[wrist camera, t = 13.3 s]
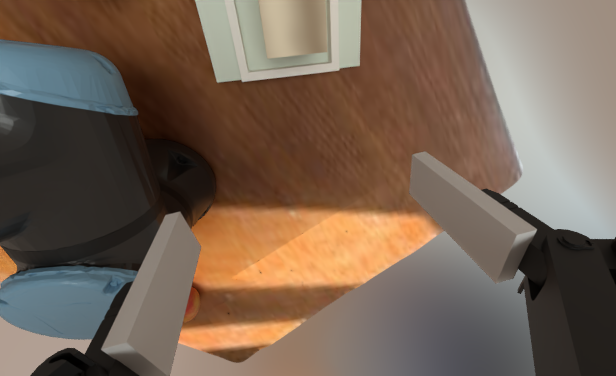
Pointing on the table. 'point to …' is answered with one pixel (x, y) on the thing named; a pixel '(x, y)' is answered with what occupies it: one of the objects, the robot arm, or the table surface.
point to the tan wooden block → (293, 27)
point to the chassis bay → (251, 46)
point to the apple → (192, 305)
